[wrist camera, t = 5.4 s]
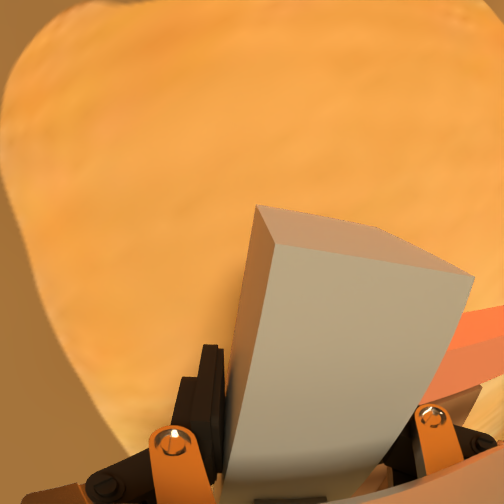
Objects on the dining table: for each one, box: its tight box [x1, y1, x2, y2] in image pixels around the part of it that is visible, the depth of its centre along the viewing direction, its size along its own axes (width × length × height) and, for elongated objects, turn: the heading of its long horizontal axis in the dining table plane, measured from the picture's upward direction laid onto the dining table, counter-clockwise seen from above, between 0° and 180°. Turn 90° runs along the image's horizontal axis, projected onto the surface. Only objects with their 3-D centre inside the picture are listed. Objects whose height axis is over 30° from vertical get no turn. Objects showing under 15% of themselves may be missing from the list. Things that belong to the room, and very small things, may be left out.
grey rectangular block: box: [213, 205, 475, 504], centre depth 9 cm, size 12×4×6 cm, turn 171°
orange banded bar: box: [419, 305, 504, 405], centre depth 17 cm, size 4×20×5 cm, turn 88°
